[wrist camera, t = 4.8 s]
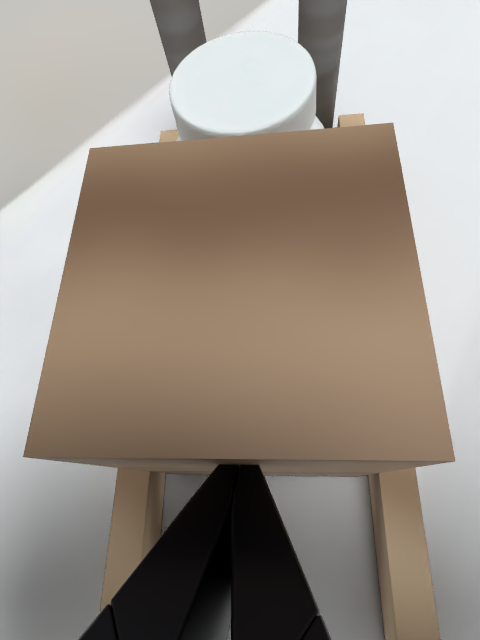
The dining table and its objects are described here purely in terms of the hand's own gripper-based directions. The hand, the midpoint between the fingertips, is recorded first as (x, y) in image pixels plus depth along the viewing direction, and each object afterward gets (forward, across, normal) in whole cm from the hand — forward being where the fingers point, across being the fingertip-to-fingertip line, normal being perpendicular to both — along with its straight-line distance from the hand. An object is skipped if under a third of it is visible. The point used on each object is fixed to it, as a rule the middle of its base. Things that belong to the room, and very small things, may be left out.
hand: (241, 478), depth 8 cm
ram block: (+8, 0, +3) cm, 9 cm away
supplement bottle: (+13, 0, -1) cm, 13 cm away
